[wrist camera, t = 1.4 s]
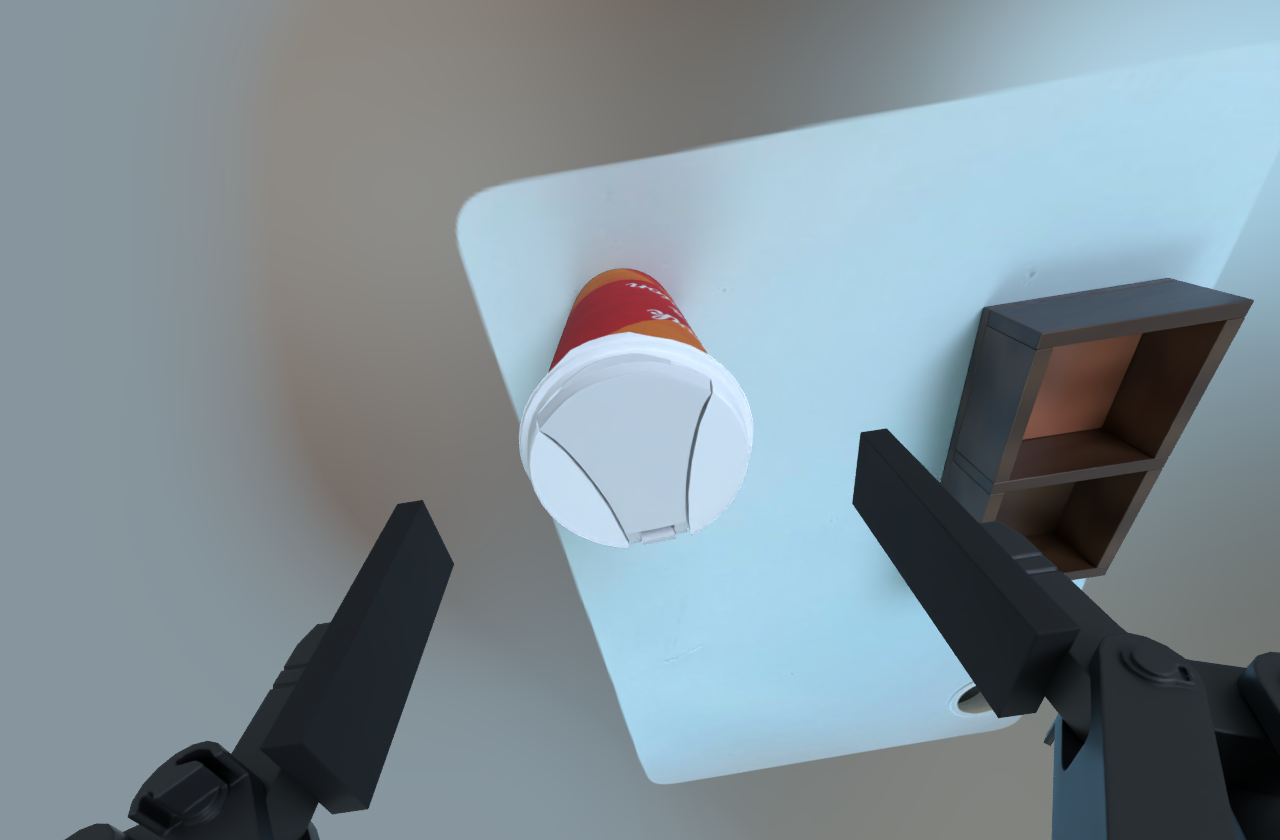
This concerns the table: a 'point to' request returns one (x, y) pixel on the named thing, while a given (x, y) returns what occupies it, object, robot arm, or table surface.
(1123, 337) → the cup holder
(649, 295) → the coffee cup
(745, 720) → the table surface
